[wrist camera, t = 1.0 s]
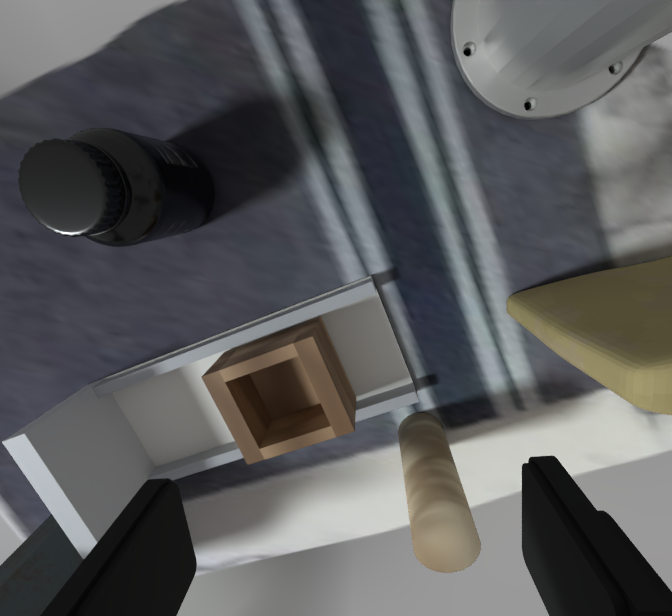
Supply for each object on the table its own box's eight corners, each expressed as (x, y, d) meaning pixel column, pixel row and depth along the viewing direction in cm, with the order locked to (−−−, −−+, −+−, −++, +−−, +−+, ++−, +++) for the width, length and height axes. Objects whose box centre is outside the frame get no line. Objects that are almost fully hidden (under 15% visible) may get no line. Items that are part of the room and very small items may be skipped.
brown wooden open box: (320, 315, 32) (312, 336, 27) (356, 398, 34) (354, 431, 29) (224, 351, 34) (201, 377, 29) (263, 428, 36) (247, 464, 31)
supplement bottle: (117, 163, 31) (-31, 143, 19) (194, 130, 30) (85, 87, 18) (156, 246, 32) (40, 273, 21) (230, 217, 31) (151, 229, 20)
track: (371, 275, 32) (372, 304, 23) (416, 391, 34) (433, 456, 26) (88, 384, 36) (1, 441, 28) (146, 478, 39) (83, 559, 30)
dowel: (435, 407, 34) (469, 512, 23) (449, 444, 35) (489, 563, 24) (391, 420, 35) (404, 529, 24) (406, 457, 36) (425, 579, 24)
